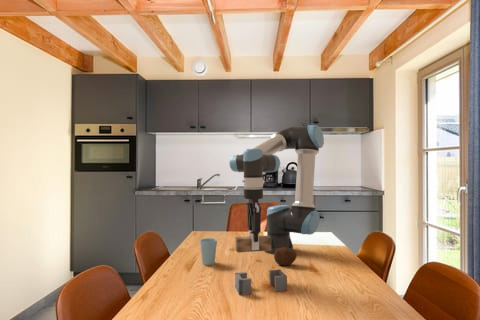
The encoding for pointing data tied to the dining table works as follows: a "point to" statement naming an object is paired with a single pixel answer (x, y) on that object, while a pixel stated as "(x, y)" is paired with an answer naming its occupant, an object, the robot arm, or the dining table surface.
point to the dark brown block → (246, 244)
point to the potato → (284, 256)
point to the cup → (208, 250)
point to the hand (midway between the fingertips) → (253, 248)
